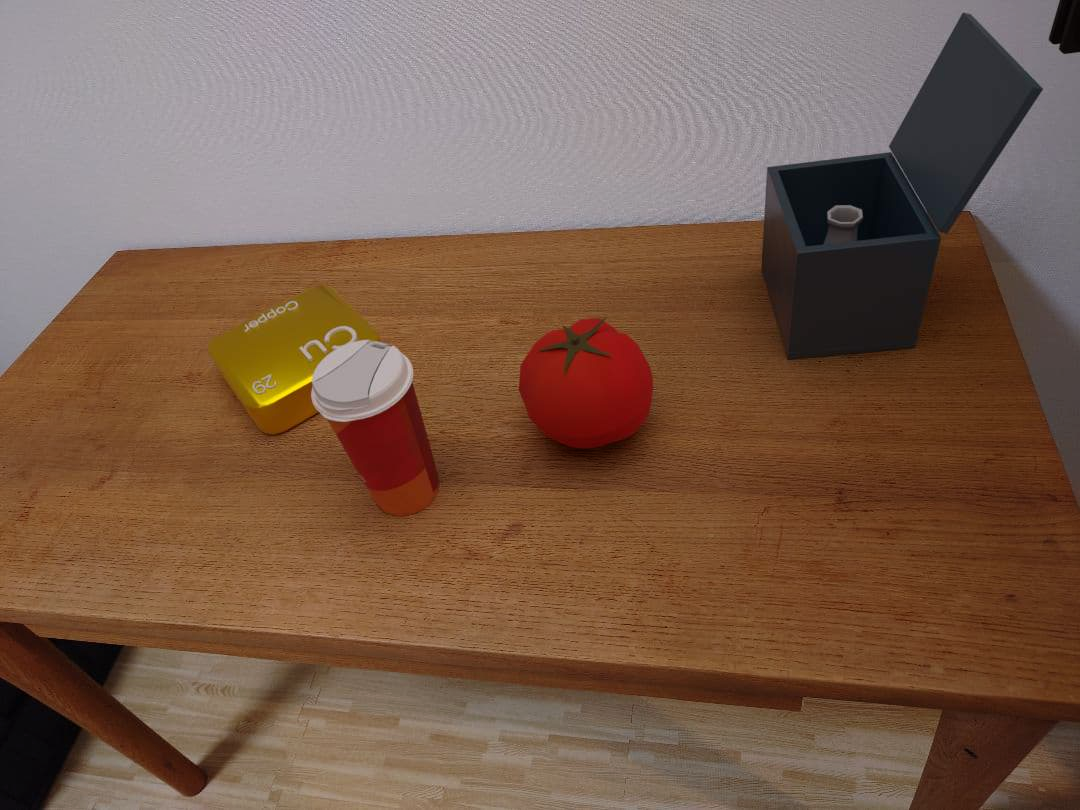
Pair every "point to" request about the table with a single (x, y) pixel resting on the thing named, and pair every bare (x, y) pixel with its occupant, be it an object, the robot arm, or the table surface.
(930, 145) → the lid
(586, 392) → the tomato
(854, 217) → the flask
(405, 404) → the coffee cup
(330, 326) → the element tile
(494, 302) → the table surface
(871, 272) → the cool box
